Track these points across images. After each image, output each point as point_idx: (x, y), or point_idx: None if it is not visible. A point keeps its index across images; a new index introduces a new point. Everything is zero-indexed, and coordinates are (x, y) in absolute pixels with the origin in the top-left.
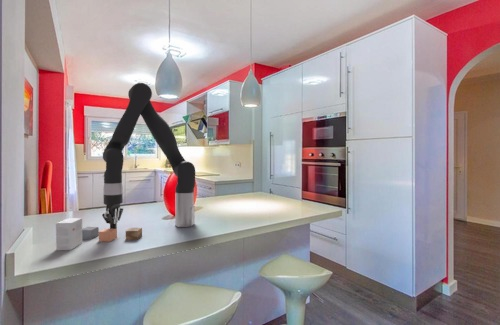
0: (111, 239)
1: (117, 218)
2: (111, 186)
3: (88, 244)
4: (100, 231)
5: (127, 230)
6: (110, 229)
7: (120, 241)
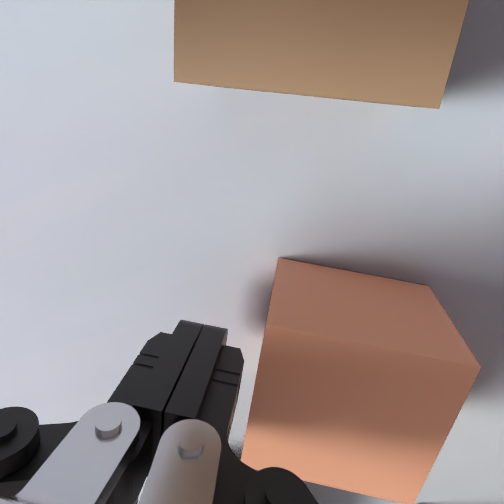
0: (408, 288)
1: (49, 482)
2: None
3: (476, 453)
4: (403, 490)
5: (407, 75)
6: (306, 400)
7: (462, 155)
